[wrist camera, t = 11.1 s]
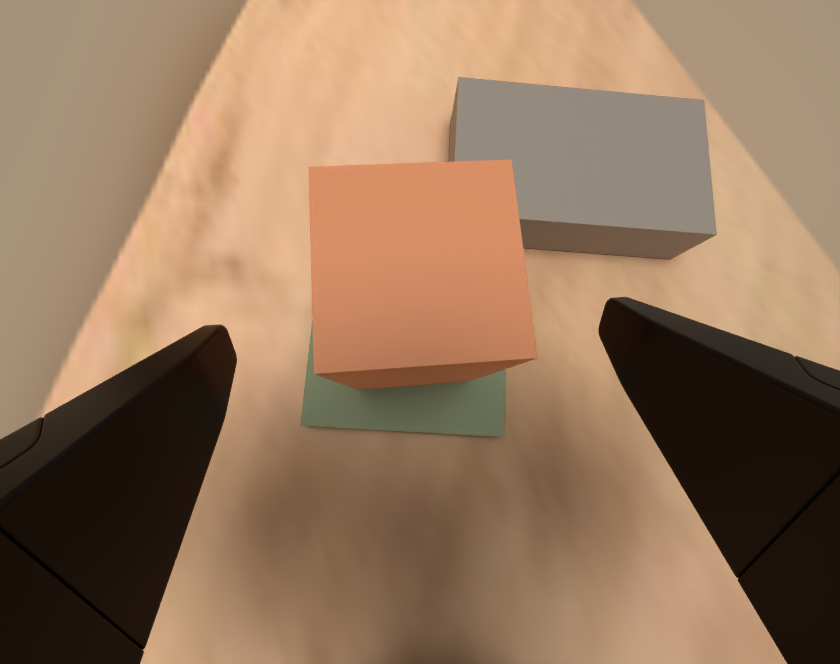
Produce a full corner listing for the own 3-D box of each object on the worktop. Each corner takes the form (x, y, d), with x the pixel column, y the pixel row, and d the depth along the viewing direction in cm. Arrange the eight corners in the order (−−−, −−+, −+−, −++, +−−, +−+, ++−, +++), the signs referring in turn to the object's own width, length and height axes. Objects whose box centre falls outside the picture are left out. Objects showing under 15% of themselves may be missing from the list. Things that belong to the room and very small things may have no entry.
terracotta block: (468, 381, 18) (537, 357, 9) (357, 389, 17) (314, 374, 8) (458, 277, 18) (511, 159, 10) (352, 282, 18) (308, 166, 9)
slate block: (670, 259, 20) (716, 234, 17) (444, 241, 20) (452, 213, 17) (662, 141, 22) (704, 100, 19) (450, 122, 21) (458, 77, 18)
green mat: (498, 435, 18) (504, 436, 17) (305, 424, 18) (300, 425, 17) (501, 255, 20) (507, 247, 19) (326, 242, 19) (322, 233, 19)
